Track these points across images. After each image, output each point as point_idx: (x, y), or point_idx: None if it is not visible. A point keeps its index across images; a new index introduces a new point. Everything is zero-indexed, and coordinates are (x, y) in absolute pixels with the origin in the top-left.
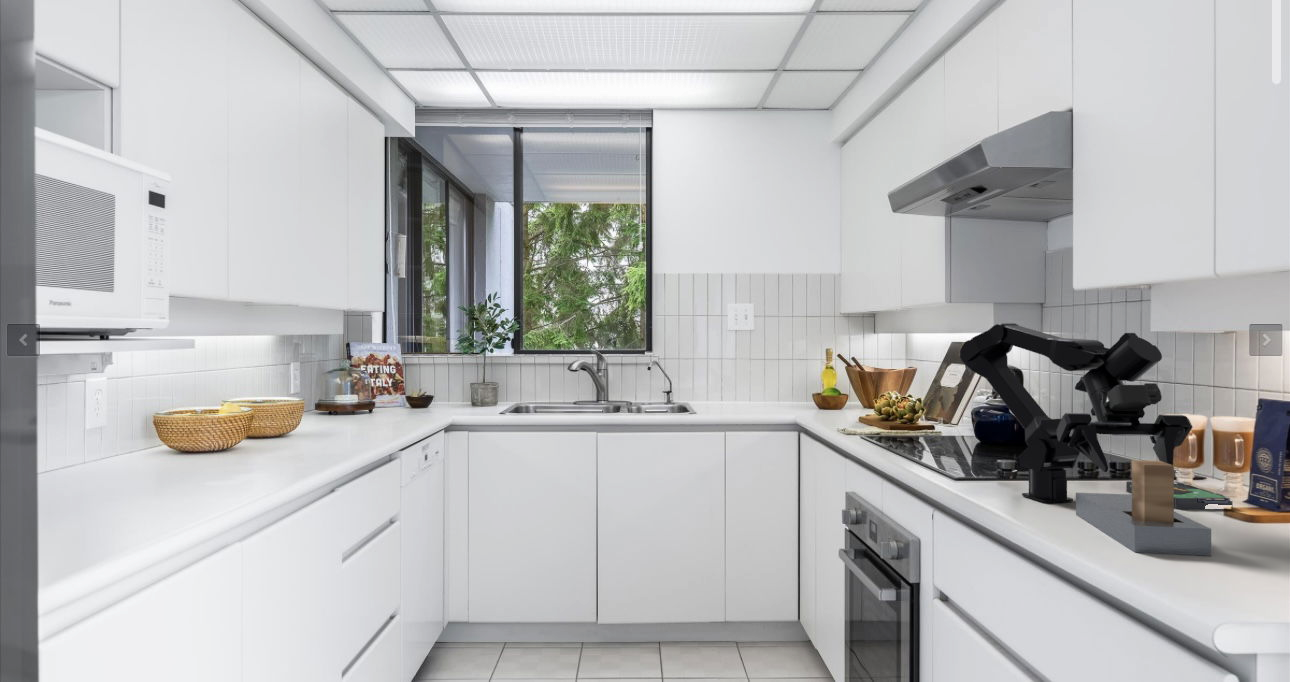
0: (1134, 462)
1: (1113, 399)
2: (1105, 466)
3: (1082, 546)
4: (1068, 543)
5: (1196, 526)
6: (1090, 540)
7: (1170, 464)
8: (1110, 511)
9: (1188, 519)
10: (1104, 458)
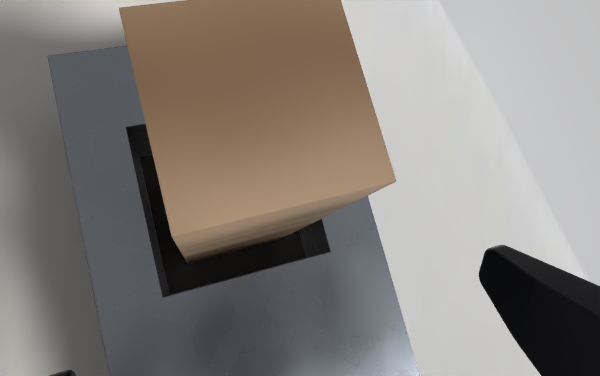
0: (376, 138)
1: None
2: (511, 249)
3: (420, 82)
4: (452, 100)
5: (95, 77)
6: (398, 157)
7: (130, 54)
8: (371, 224)
9: (88, 195)
10: (557, 285)
